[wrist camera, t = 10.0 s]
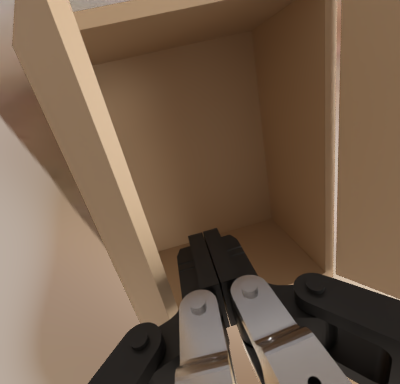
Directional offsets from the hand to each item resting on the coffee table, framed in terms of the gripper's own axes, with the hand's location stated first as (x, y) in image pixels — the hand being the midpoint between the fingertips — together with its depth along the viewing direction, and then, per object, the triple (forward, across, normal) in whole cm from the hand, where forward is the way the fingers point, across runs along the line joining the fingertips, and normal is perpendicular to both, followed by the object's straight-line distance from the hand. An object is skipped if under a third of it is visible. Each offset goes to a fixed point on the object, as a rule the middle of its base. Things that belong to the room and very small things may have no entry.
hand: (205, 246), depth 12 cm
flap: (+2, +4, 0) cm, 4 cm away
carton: (+18, -2, 0) cm, 18 cm away
